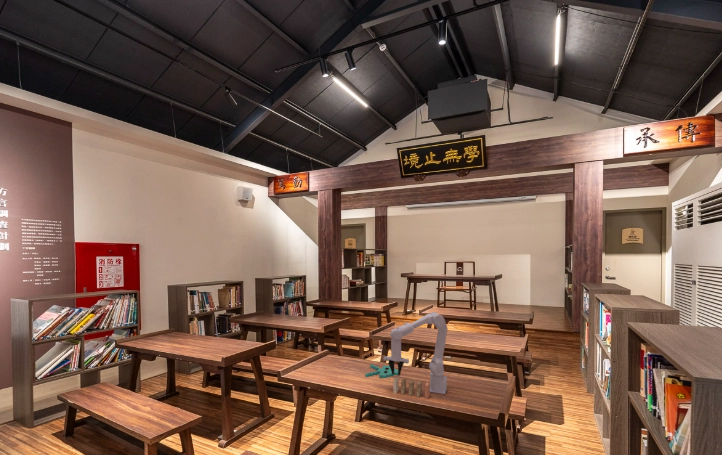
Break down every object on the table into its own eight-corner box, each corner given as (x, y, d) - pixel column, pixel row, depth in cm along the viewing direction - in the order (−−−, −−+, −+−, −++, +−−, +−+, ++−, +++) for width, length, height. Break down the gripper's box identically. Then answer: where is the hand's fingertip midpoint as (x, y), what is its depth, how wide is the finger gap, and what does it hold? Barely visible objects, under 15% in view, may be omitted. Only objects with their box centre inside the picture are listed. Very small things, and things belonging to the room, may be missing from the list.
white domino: (398, 390, 207) (398, 377, 207) (396, 393, 202) (396, 380, 202) (395, 389, 207) (395, 377, 208) (393, 393, 203) (393, 380, 203)
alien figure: (365, 377, 228) (396, 380, 224) (365, 374, 228) (396, 376, 224) (370, 367, 248) (399, 369, 244) (370, 364, 248) (399, 366, 244)
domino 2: (413, 392, 203) (413, 380, 204) (411, 396, 198) (411, 383, 199) (411, 392, 204) (411, 379, 204) (408, 395, 199) (408, 382, 200)
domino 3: (421, 394, 201) (421, 381, 202) (419, 397, 197) (419, 384, 197) (418, 393, 202) (418, 380, 202) (416, 396, 197) (416, 383, 198)
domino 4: (429, 395, 200) (429, 382, 200) (427, 398, 195) (427, 385, 196) (426, 394, 200) (426, 382, 201) (424, 398, 196) (424, 385, 196)
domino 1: (406, 391, 205) (406, 379, 205) (403, 394, 200) (403, 382, 201) (403, 391, 205) (403, 378, 206) (401, 394, 201) (401, 381, 201)
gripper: (410, 350, 207) (410, 374, 206) (386, 347, 212) (386, 370, 212) (407, 353, 200) (407, 378, 200) (382, 350, 206) (382, 374, 205)
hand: (396, 374), depth 205 cm, fingers open, 3 cm apart
